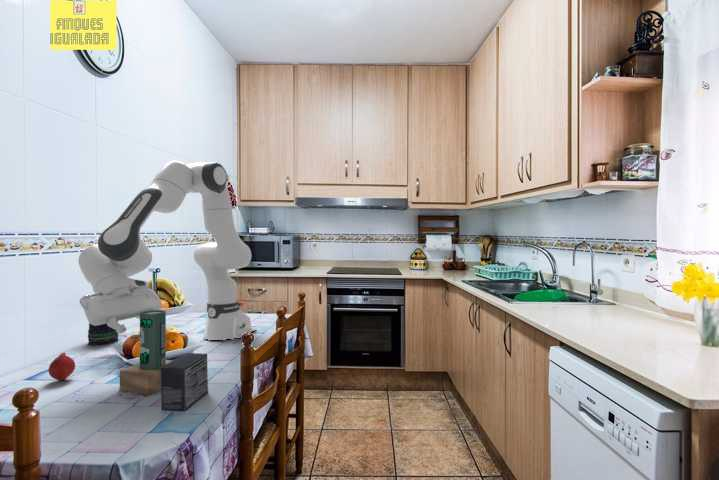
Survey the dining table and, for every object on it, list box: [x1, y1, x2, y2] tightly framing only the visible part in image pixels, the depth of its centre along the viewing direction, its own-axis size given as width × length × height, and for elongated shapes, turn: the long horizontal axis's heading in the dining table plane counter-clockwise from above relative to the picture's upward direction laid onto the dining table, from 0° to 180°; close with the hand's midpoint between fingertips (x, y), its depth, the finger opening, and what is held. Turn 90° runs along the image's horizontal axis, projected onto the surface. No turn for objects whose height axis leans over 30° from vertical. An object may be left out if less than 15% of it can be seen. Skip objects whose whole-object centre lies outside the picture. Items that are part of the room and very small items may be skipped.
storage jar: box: [87, 321, 119, 347], centre depth 142 cm, size 10×10×15 cm
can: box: [139, 309, 167, 370], centre depth 101 cm, size 6×6×15 cm
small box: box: [160, 352, 209, 412], centre depth 90 cm, size 11×6×10 cm, turn 173°
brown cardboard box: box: [119, 359, 172, 397], centre depth 101 cm, size 11×11×5 cm
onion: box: [48, 351, 76, 382], centre depth 103 cm, size 6×6×8 cm
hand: (139, 328), depth 103 cm, fingers open, 8 cm apart
